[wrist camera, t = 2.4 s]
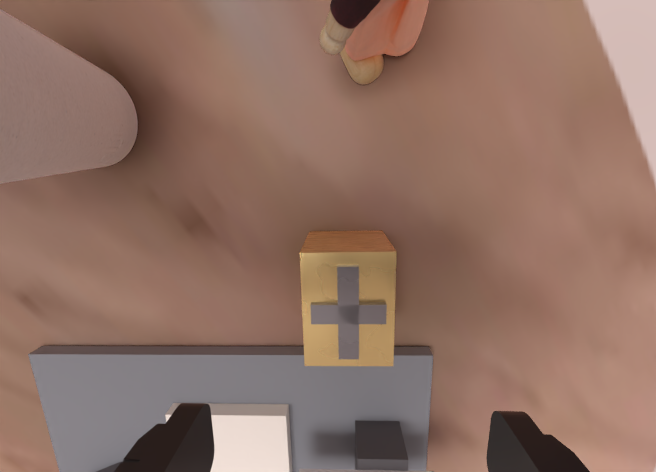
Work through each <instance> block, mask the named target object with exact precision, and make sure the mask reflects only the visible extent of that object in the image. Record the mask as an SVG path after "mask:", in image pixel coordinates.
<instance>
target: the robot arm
mask: <svg viewBox="0 0 656 472" xmlns="http://www.w3.org/2000/svg"><path fill="white" fill-rule="evenodd" d="M213 459H214V437H213V428H212V418H211V409H210V406H209V404H204V403H181V404H180V405H179V406H178V407H177V408H176V409H175V411H174V412H173V414H172V415H171V416H170V418H169V419H168V421H167V422H166V424H156V425H155V426H154V427H153V428H152V429H150V430H149V431H148V432H147V433H145V434H144V435H143V436H142V437H141V438H139V439H138V440H137V442H136V443H135V444H134V446H133V447H132V448H131V450H130V451H129V452H128V454H127V455H126V456H125V458H124V459H123V462H122V463H120V464H119V466H118V467H117V468H116V470H115V471H114V472H210V471H211V468H212V464H213ZM487 466H488V471H489V472H590V471H589V470H588V469H587V468H586V467H585V465H584V464H583V463H582V462H581V461H580V459H579V458H578V457H577V456H576V455H575V453H574V452H572V451H571V450H570V449H568V448H567V447H566V446H565V445H563V444H562V443H561V442H560V441H558V440H557V439H556V438H555V437H553V436H552V435H544V434H543V433H542V432H541V431H540V429H539V428H538V427H537V426H536V424H535V423H534V422H533V420H532V419H531V418H530V417H529V416H528V415H527V414H526V413H525V412H514V411H494V412H493V414H492V417H491V425H490V433H489V441H488V449H487Z"/></svg>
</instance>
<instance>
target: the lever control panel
mask: <svg viewBox="0 0 656 472" xmlns="http://www.w3.org/2000/svg"><path fill="white" fill-rule="evenodd" d="M28 355H29V359H30V363H31V366H32V370H33V374H34V378H35V381H36V385H37V389H38V393H39V396H40V400H41V404H42V408H43V411H44V415H45V419H46V423H47V426H48V430H49V434H50V438H51V441H52V445H53V449H54V453H55V456H56V460H57V464H58V468H59V471H60V472H114V471H115V470H116V468H117V467H118V466H119V464H120V463H122V462H123V459H124V458H125V456H126V455H127V454H128V452H129V451H130V450H131V448H132V447H133V446H134V444H135V443H136V442H137V440H138V439H139V438H141V437H142V436H143V435H144V434H145V433H147V432H148V431H149V430H150V429H152V428H153V427H154V426H155V425H156V424H166V422H167V421H168V419H169V418H170V416H171V415H172V414H173V412H174V411H175V409H176V408H177V407H178V406H179V405H180V404H181V403H204V404H209V406H210V409H211V418H212V428H213V437H214V459H213V464H212V468H211V471H210V472H434V471H426V463H427V447H428V431H429V415H430V399H431V383H432V366H433V354H432V352H431V350H430V348H429V347H394V362H393V366H305V363H304V346H41V347H40V348H38V349H36V350H35V351H33V352H31V353H30V354H28Z"/></svg>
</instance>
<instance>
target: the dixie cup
mask: <svg viewBox="0 0 656 472" xmlns="http://www.w3.org/2000/svg"><path fill="white" fill-rule="evenodd" d="M137 130H138V120H137V114H136V110H135V107H134V104H133V102H132V99H131V97H130V96H129V94H128V92H127V91H126V90H125V88H124V87H123V86H122V85H121V84H120V83H119V82H118V81H117V80H116V79H115V78H114V77H113V76H112V75H110V74H109V73H107V72H105V71H104V70H102V69H100V68H99V67H97V66H95V65H94V64H92V63H90V62H89V61H87V60H85V59H84V58H82V57H80V56H79V55H77V54H75V53H74V52H72V51H70V50H69V49H67V48H65V47H63V46H62V45H60V44H58V43H57V42H55V41H53V40H52V39H50V38H48V37H47V36H45V35H43V34H42V33H40V32H38V31H37V30H35V29H33V28H32V27H30V26H28V25H27V24H25V23H23V22H22V21H20V20H18V19H17V18H15V17H13V16H12V15H10V14H8V13H7V12H5V11H3V10H2V9H0V184H2V183H8V182H14V181H21V180H27V179H33V178H39V177H45V176H51V175H58V174H64V173H70V172H76V171H82V170H88V169H95V168H101V167H107V166H111V165H113V164H116V163H118V162H119V161H121V160H122V159H123V158H125V157H126V156H127V154H128V153H129V152H130V151H131V149H132V147H133V145H134V143H135V140H136V136H137Z"/></svg>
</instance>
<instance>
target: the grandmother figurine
mask: <svg viewBox="0 0 656 472" xmlns="http://www.w3.org/2000/svg"><path fill="white" fill-rule="evenodd" d="M428 3H429V0H332V1H331V5H330V11H329V14H328V16H327V19H326V25H325V26H324V28H323V29H322V31H321V34H320V39H319V40H320V45H321V47H322V49H323V50H324V52H326V53H327V54H330V55H337V54H339V53H340V55H341V58H342V60H343V62H344V64H345V66H346V68H347V70H348V73H349V74H350V76H351V78H352V79H353V80H354V81H355V82H357V83H358V84H363V85H364V84H369V83H371V82H373V81H374V80H375V79H376V78H378V77H379V76H380V74H381V72H382V70H383V66H384V60H383V57H382V54H387V55H391V56H401V55H403V54H405V53H407V52H408V51H410V50H411V49H412V48H413V47H414V45H415V43H416V42H417V39H418V37H419V34H420V32H421V29H422V26H423V23H424V19H425V16H426V12H427V8H428Z"/></svg>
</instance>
